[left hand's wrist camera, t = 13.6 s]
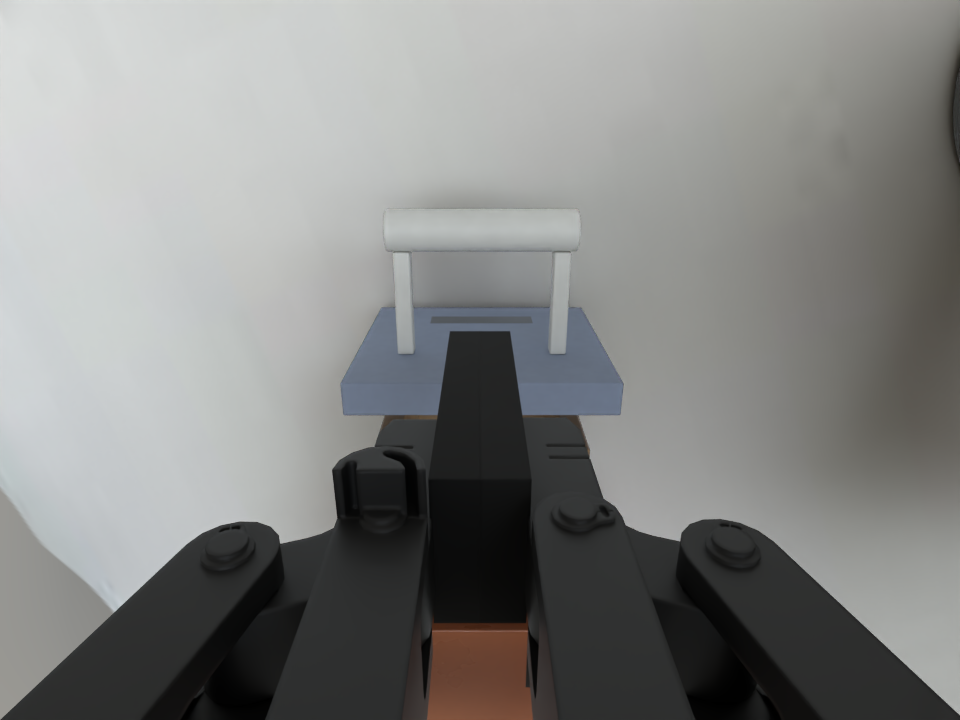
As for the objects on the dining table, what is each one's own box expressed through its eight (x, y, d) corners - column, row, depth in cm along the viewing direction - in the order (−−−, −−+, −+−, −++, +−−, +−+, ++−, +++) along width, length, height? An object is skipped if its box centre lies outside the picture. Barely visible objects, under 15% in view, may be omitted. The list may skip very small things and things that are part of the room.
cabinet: (384, 473, 32) (341, 630, 22) (578, 473, 32) (622, 630, 22) (403, 736, 39) (377, 940, 30) (558, 736, 39) (585, 940, 30)
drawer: (373, 191, 25) (324, 221, 17) (589, 191, 25) (639, 221, 17) (402, 624, 34) (378, 776, 26) (560, 624, 34) (584, 776, 26)
